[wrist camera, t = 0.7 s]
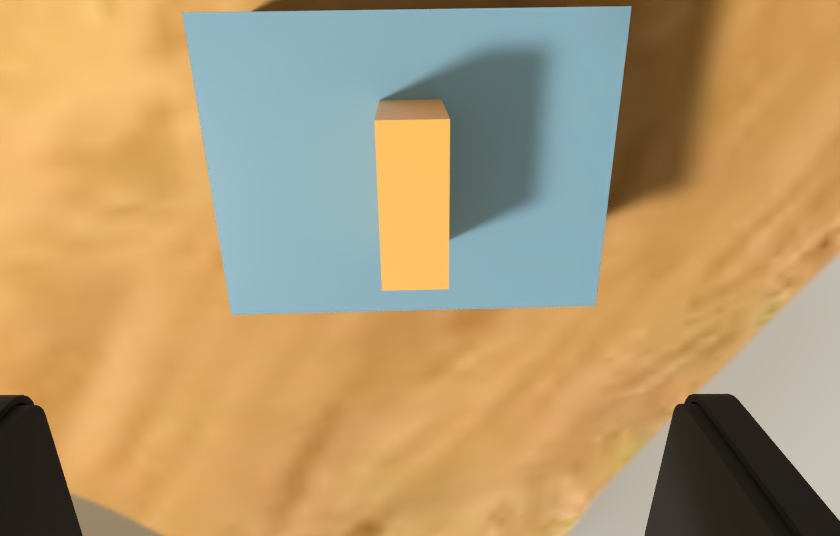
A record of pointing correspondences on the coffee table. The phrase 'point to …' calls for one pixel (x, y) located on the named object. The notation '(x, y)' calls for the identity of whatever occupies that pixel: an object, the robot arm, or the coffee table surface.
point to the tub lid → (409, 154)
